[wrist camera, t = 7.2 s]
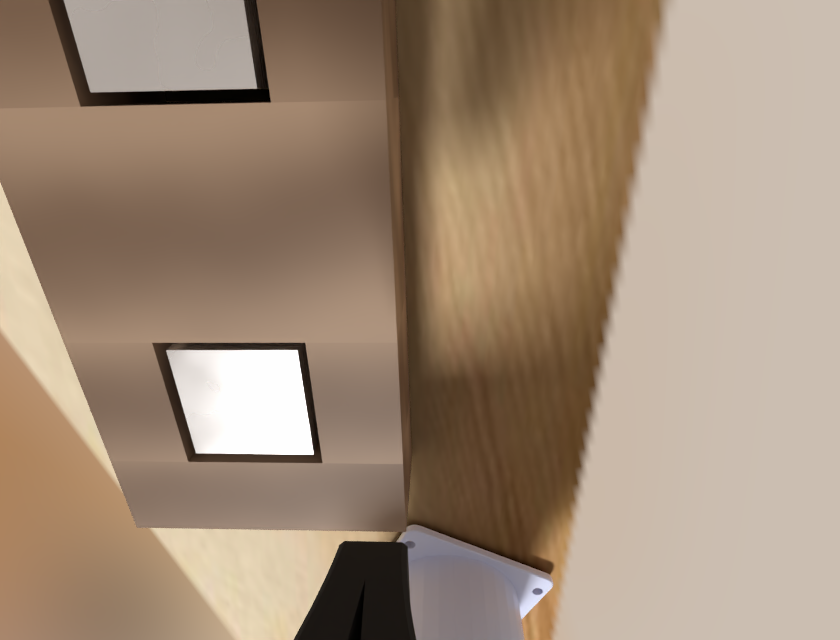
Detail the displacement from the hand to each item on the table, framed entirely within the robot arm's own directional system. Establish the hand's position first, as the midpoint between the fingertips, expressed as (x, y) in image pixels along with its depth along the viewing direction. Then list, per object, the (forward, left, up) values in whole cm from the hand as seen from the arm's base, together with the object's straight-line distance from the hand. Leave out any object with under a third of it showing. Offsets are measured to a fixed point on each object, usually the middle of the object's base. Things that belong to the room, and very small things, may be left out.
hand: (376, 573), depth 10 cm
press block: (+3, +7, -9) cm, 12 cm away
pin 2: (-2, +5, -10) cm, 11 cm away
